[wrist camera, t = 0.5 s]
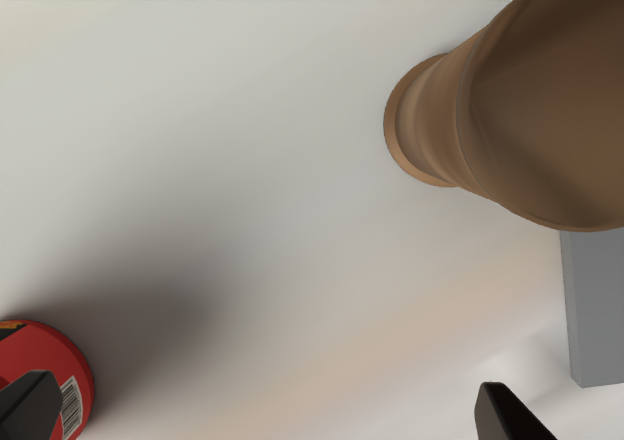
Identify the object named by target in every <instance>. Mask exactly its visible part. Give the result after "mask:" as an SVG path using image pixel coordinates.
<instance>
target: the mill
mask: <svg viewBox="0 0 624 440" xmlns="http://www.w3.org/2000/svg"><path fill="white" fill-rule="evenodd" d="M383 127H384V136H385V140H386V144H387V146H388V149H389V151H390V153H391V155H392V157H393V158H394V160H395V161H396V163H397V164H398V165H399V166H400V167H401V168H402V169H403V170H404V171H405V172H407V173H408V174H409V175H411V176H413V177H414V178H416V179H418V180H420V181H422V182H425V183H427V184H430V185H434V186H439V187H460V188H462V189H465V190H467V191H470V192H472V193H475V194H477V195H480V196H482V197H485V198H487V199H490V200H492V201H495V202H497V203H499V204H500V205H501V206H503V207H504V208H506V209H508V210H509V211H511V212H512V213H514V214H516V215H519V216H521V217H523V218H525V219H527V220H530V221H532V222H534V223H537V224H539V225H542V226H546V227H549V228H552V229H556V230H562V231H569V232H599V231H607V230H612V229H617V228H621V227H624V0H513V1H512V2H511V3H509V4H508V5H507V6H506V7H505V8H504V9H503V10H502V11H500V12H499V13H498V14H497V15H496V16H495V17H494V18H493V20H492V21H491V22H490V23H489V24H488V25H487V26H486V27H484V28H483V29H481V30H480V31H479V32H477V33H476V34H475V35H473V36H472V37H470V38H469V39H468V40H466V41H465V42H464V43H462V44H461V45H459V46H458V47H457V48H455V49H454V50H452V51H451V52H450V53H446V54H441V55H437V56H434V57H432V58H429V59H427V60H425V61H423V62H421V63H419V64H418V65H417V66H415V67H414V68H413V69H411V70H410V71H409V72H408V73H407V74H406V75H405V76H404V77H403V78H402V79H401V80H400V81H399V82H398V83H397V85H396V86H395V88H394V89H393V91H392V93H391V95H390V97H389V99H388V102H387V105H386V108H385V113H384V123H383Z"/></svg>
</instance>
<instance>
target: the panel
mask: <svg viewBox="0 0 624 440" xmlns="http://www.w3.org/2000/svg"><path fill="white" fill-rule="evenodd" d="M560 240H561V252H562V265H563V277H564V290H565V303H566V315H567V328H568V340H569V353H570V366H571V378H572V379H573V380H574V381H575V382H576V383H577V384H578V385H579V386H580V387H581V388H587V387H595V386H603V385H611V384H619V383H624V227H621V228H617V229H612V230H607V231H599V232H569V231H562V230H560Z"/></svg>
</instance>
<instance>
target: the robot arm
mask: <svg viewBox="0 0 624 440" xmlns="http://www.w3.org/2000/svg"><path fill="white" fill-rule="evenodd" d="M62 406H63V393H62V391H61V389H60V387H59V384H58V382H57V380H56V377H55V375H54V373H53V372H52V371H50V370H30V371H28V372H27V373H25V374H24V375H22V376H21V377H19V378H18V379H16V380H15V381H14V382H12V383H11V384H9V385H8V386H6V387H5V388H3V389H2V390H1V391H0V440H50V438H51V435H52V432H53V430H54V427H55V425H56V422H57V419H58V417H59V414H60V412H61V409H62ZM474 415H475V422H476V428H477V433H478V438H479V440H557V439H556V437H555V436H554V435H553V434H552V433H551V432H550V431H549V430H548V429H547V428H546V427H545V426H544V425H543V424H542V423H541V422H540V421H539V420H538V419H537V417H536V416H535V415H534V414H533V413H532V412H531V411H530V410H529V409H528V408H527V407H526V406H525V405H524V404H523V403H522V402H521V401H520V400H519V399H518V398H517V396H516V395H515V394H514V393H513V392H512V391H511V390H510V389H509V388H508V387H507V386H506V385H505V384H503V383H501V382H483V383H482V384H481V386H480V389H479V393H478V397H477V401H476V405H475V411H474Z"/></svg>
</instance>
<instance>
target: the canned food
mask: <svg viewBox="0 0 624 440" xmlns="http://www.w3.org/2000/svg"><path fill="white" fill-rule="evenodd" d="M30 370H50V371H52V372H53V373H54V375H55V377H56V380H57V382H58V384H59V387H60V389H61V391H62V393H63V406H62V409H61V412H60V414H59V417H58V419H57V422H56V425H55V427H54V430H53V432H52V435H51V438H50V440H76V438H77V437H78V436H79V435H80V433H81V432H82V430H83V428H84V427H85V425H86V423H87V420H88V417H89V415H90V412H91V409H92V406H93V402H94V383H93V377H92V374H91V371H90V368H89V366H88V364H87V362H86V360H85V358H84V356H83V355H82V354H81V352H80V351H79V350H78V348H77V347H76V346H75V345H74V344H73V343H72V342H71V341H70V340H69V339H68V338H67V337H66V336H64V335H63V334H61V333H60V332H58V331H57V330H55V329H53V328H51V327H49V326H47V325H44V324H42V323H38V322H34V321H30V320H10V321H3V322H0V391H1V390H2V389H3V388H5V387H6V386H8V385H9V384H11V383H12V382H14V381H15V380H16V379H18V378H19V377H21V376H22V375H24V374H25V373H27V372H28V371H30Z"/></svg>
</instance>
